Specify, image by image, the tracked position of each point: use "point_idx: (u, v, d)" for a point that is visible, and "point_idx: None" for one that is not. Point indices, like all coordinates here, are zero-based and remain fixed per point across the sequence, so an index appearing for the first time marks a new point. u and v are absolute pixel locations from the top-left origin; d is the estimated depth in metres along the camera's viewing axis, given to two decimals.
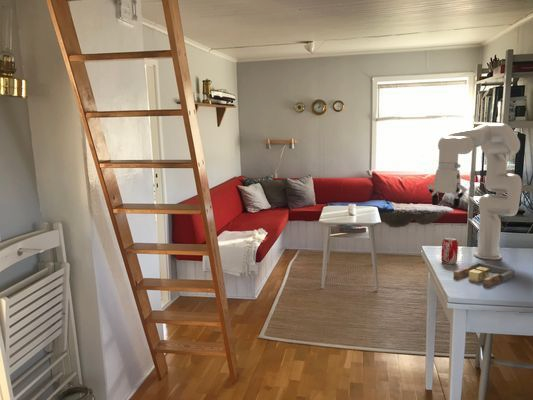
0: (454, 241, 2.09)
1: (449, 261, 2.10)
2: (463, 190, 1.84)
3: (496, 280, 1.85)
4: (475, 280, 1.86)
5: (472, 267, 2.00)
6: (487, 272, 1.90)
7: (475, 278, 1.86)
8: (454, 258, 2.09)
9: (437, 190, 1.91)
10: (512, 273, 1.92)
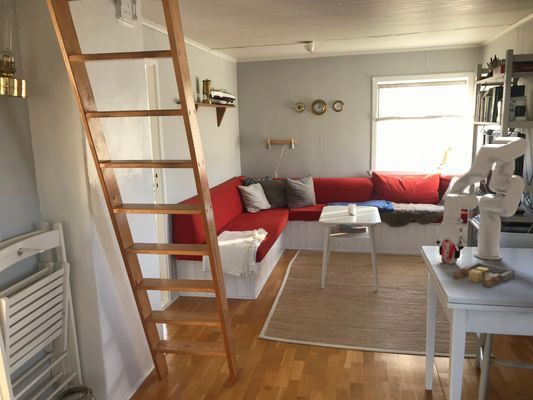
0: None
1: (449, 261, 2.10)
2: (464, 244, 2.06)
3: (496, 280, 1.85)
4: (475, 280, 1.86)
5: (472, 267, 2.00)
6: (487, 272, 1.90)
7: (475, 278, 1.86)
8: (454, 258, 2.09)
9: (442, 241, 2.12)
10: (512, 273, 1.92)
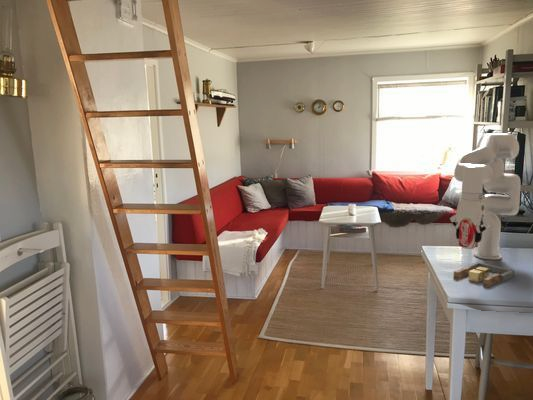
0: None
1: (468, 245, 1.77)
2: (486, 225, 1.73)
3: (496, 280, 1.85)
4: (475, 280, 1.86)
5: (472, 267, 2.00)
6: (487, 272, 1.90)
7: (475, 278, 1.86)
8: (474, 242, 1.76)
9: (460, 221, 1.80)
10: (512, 273, 1.92)
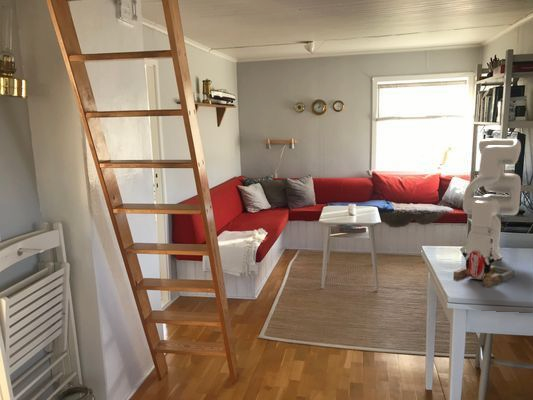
0: None
1: (478, 276, 1.86)
2: (495, 257, 1.82)
3: (496, 280, 1.85)
4: None
5: None
6: (493, 270, 1.93)
7: None
8: (483, 273, 1.86)
9: (469, 253, 1.89)
10: (512, 273, 1.92)
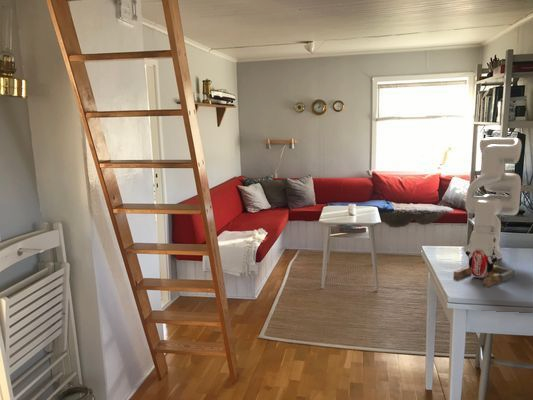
0: None
1: (481, 275, 1.88)
2: (498, 256, 1.84)
3: (496, 280, 1.85)
4: None
5: None
6: (496, 269, 1.95)
7: None
8: (486, 271, 1.87)
9: (472, 252, 1.90)
10: (512, 273, 1.92)
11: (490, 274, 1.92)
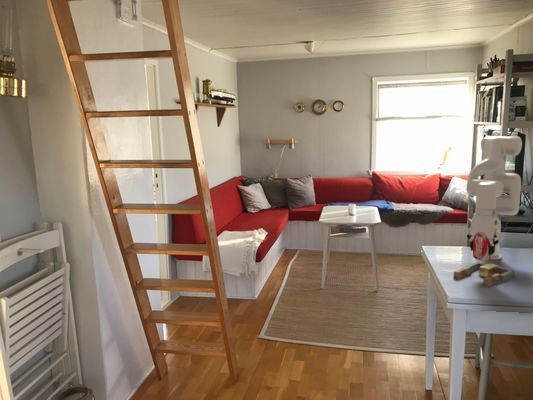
0: None
1: (482, 257, 1.87)
2: (500, 238, 1.83)
3: (496, 280, 1.85)
4: (485, 275, 1.92)
5: (472, 267, 2.00)
6: (496, 269, 1.95)
7: (485, 273, 1.92)
8: (488, 254, 1.87)
9: None
10: (512, 273, 1.92)
11: (489, 274, 1.92)
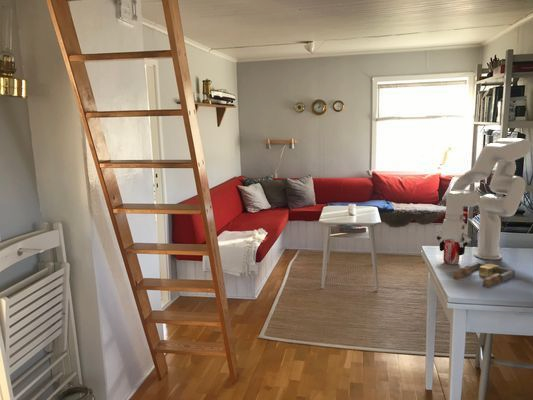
0: None
1: (451, 261, 2.09)
2: (468, 240, 2.04)
3: (496, 280, 1.85)
4: (485, 275, 1.92)
5: (472, 267, 2.00)
6: (496, 269, 1.95)
7: (485, 273, 1.92)
8: (456, 258, 2.09)
9: (444, 238, 2.11)
10: (512, 273, 1.92)
11: (489, 274, 1.92)
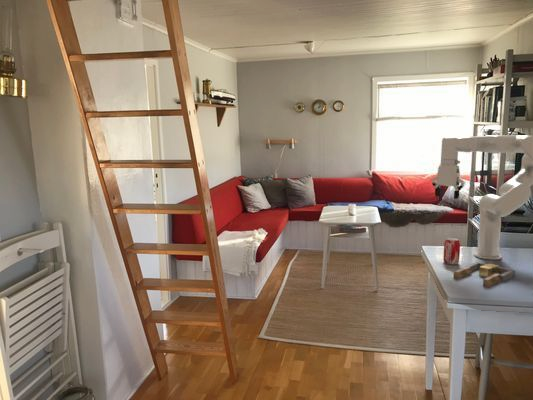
0: (456, 241, 2.08)
1: (451, 261, 2.09)
2: (462, 183, 2.11)
3: (496, 280, 1.85)
4: (485, 275, 1.92)
5: (472, 267, 2.00)
6: (496, 269, 1.95)
7: (485, 273, 1.92)
8: (456, 258, 2.09)
9: (439, 183, 2.18)
10: (512, 273, 1.92)
11: (489, 274, 1.92)
